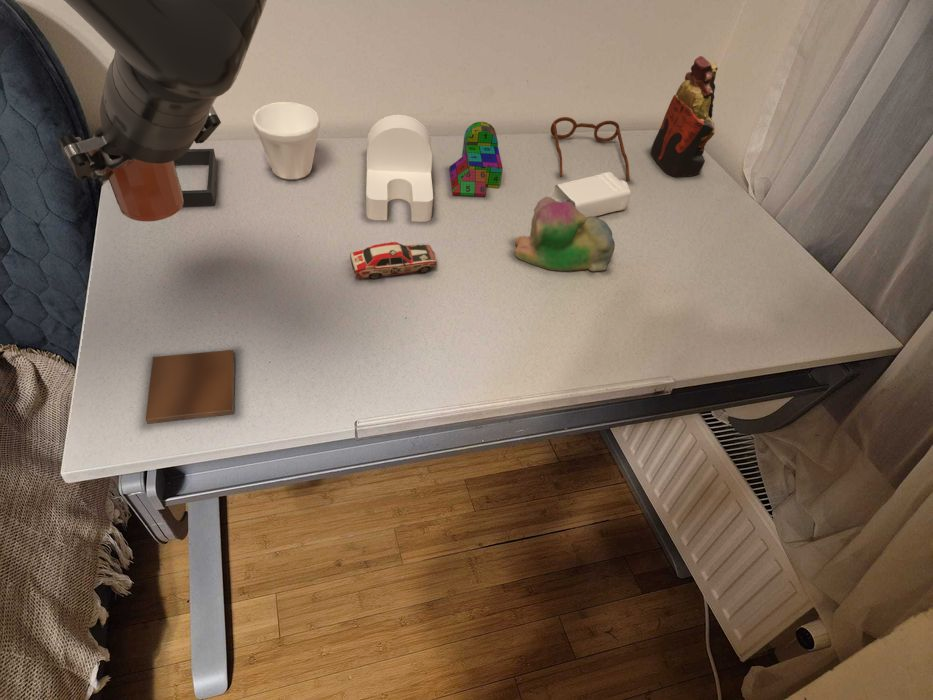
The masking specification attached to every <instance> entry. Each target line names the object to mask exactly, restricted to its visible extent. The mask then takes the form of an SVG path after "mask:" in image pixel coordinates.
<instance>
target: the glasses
mask: <svg viewBox="0 0 933 700" xmlns="http://www.w3.org/2000/svg"><path fill="white" fill-rule="evenodd" d="M561 122H569V123H571V124H572V128H571V130H570V131H569V132H568V133H565V134H558V127H557V124H558V123H561ZM606 125H611V126H614V127H615V131H614V133H613V134H612V135H611V136H610V137H609V136H608V137H600V136H598V131H599V129H600V128H601V127H603V126H606ZM577 128H590V129H594V130H593V136H594V139H595V140H596V141H597V142H601V143H607V142H610V141H613V140H614V139H615V138H618V143H619V147H620V153H621V155H622V157H623V161H624V165H625V174H626V175H625V176H626V182H630V179H631V178H630V177H631V176H630V165H629V160H628V156H627V153H626V150H625V146H624V142H623V137H622V133H621V129H620V126H619V123H618V122H617V121H614V120H604V121H601V122H599V123H598V124H594V123H587V122H586V123H584V122H580V123H577V121H576V120H575V119H574V118H572V117H568V116H561V117H559V118H556V119H555V120H554V121H553V122H552V124H551V126H550V133H551V136H552V137H553V138H554V142H555V148H556V151H557V153H558V158H559V176H560V177H563V156H562V155H563V154H562V150H561V147H560V140H559V139H567V138H570V137H571V136H572V135H573V134H574V133H575V131H576V130H577Z"/></svg>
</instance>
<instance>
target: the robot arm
mask: <svg viewBox="0 0 933 700" xmlns="http://www.w3.org/2000/svg"><path fill="white" fill-rule="evenodd" d="M267 1H268V0H63V2H65V3H66V4H67V5H68V6H70V7H71V8H72V9H73V10H74V11H75V12H76V13H77V14H78V15H79V16H80V17H81V18H82V19H83V20H84V21H85V22H86V23H87V24H89V26H91V27H92V29H93V30H95V32H96V33H97V34H98V35H100V37H101V38H102V39H103V40H104V41H105V42H106V43H107V44H108V45H110V47H111V48H112V49H113V50H114V56H113V58H112V60H111V62H110V64H109V66H108V69H107V71H106V76H105V80H104V85H103V89H102V96H101V101H100V107H99V108H100V109H99V118H100V126H99V127H98V128H96V129H95V131H94V134H93V136H92V137H91V138H88V139H84V140H82V138H81V137H80V136H77V137H76V136H75V135H74V134H64V135H62V137H60V138H59V139H58V140H59V141H58V142H59V144H60V147H61V151H62V155H63V156H64V158H65V160H67V162H68V164H69V167H70V168H71V170H72V171H73V173H74V176H75V177H76V179H77V180H78V181H81V180H83V181H84V180H85V181H86V180H87V179H89V178H90V177H91V179H92V180H97V179H98V181H99V182H101V183H103V182H106V181H109V176H110V173H111V170H116V169H122V168H125V167H127V166H128V165H130V164H131V163H133V162H134V161H135V160H140V161H143V162H147V163H156V164H158V163H167V162H171V161H174V160H176V159H178V158H180V157H181V156H183V155H184V154H185V153H186V152H187V151H188V150H189V149H191V147H192V146H193V144H194V143H195V144H197V145H198V144H204V143H205V142H206V141H207V140H208V139H209V138H210V136H211V135H212V134H213V133H214V132H215V130H216V129H217V128H218V127H219V126H220V125H221V124H222V121H221V119H220V117H219V116H218V113H217V111H216V110H215V108H214V106H213V105H214V103H215V101H216V100H217V98H218V97H220V96H223V95H224V94H225V93H227V92H228V91H230V89H231V88H232V87H233V85H234V84H235V82H236V81H237V79H238V76H239V74H240V72H241V70H242V67H243V64H244V62H245V59H246V56H247V53H248V51H249V48H250V45H251V43H252V40H253V38H254V35H255V33H256V30H257V28H258V25H259V24H260V23H259V22H260V21H261V18H262V15H263V12H264V10H265V8H266V4H267ZM100 152H101V153H100ZM121 156H123V157H121ZM103 157H104V158H103ZM104 159H105V160H104Z"/></svg>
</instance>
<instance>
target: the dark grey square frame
mask: <svg viewBox="0 0 933 700" xmlns="http://www.w3.org/2000/svg"><path fill="white" fill-rule="evenodd" d="M217 164H218V163H217V156H216V152H215V148H189V150H188V151H187V152H186V153H185V154H184V155H183V156H181V157H180V158H178V159H176V160H174V165H175V166H198V165H200V166H201V165H208V173H207V186H206V187H207V188H206V189H195V190H194V189H192V190H190V189H189V190H182V193H183V199H184V203H183V206H182V208H194V207H196V208H197V207H215V203H216V202H215V201H216V183H217V166H218V165H217Z"/></svg>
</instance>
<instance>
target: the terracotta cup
mask: <svg viewBox="0 0 933 700" xmlns="http://www.w3.org/2000/svg"><path fill="white" fill-rule="evenodd" d="M100 153H101V152H100ZM121 157H123V156H121ZM103 158H104V157H103ZM104 160H105V159H104ZM108 182H109V185H110V187H111V190H112V192H113V196H114V198H115V200H116V203H117V205H118V207H119V209H120V212H121V213H122V214H123V215H124V216H125V217H127V218H129V219H130V220H133V221H138V222H157V221H161V220H165V219H168V218H170V217H172V216H174V215H176V214H177V213H178V212H179V211H181V209H182V208H183V207H182V206H183V203H184V199H183V193H182V191H183V190H182V187H181V186H182V185H181V183H180V180H179V175H178V172H177V169H176V165H174V161H171V162H167V163H158V164H156V163H147V162H143V161H140V160H135V161H134V162H133V163H131V164H130V165H128V166H127V167H125V168H122V169H116V170H111V173H110V176H109V179H108Z"/></svg>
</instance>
